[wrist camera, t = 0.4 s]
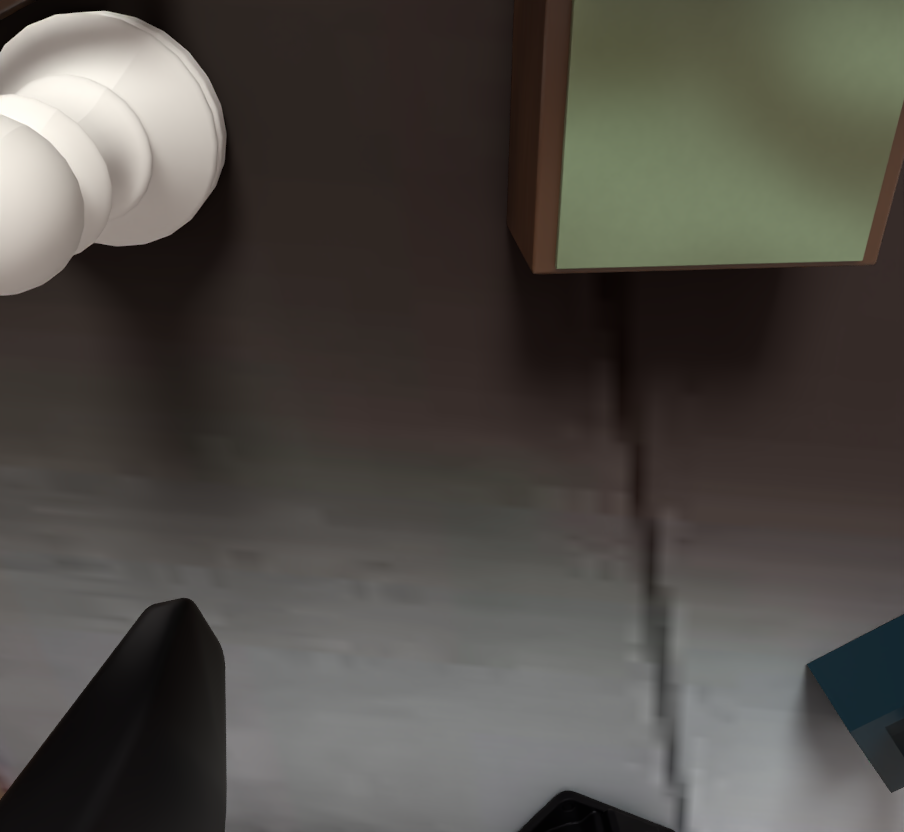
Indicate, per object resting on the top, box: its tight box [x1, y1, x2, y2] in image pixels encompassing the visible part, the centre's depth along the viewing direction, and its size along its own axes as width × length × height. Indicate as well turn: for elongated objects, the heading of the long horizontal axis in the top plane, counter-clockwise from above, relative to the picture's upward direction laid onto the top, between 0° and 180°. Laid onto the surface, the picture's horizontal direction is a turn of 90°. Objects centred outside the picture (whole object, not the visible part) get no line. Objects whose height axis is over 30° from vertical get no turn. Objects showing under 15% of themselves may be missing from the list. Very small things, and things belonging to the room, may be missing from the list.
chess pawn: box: [0, 11, 227, 296], centre depth 15 cm, size 5×5×9 cm
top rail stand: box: [507, 0, 904, 274], centre depth 16 cm, size 9×8×6 cm
